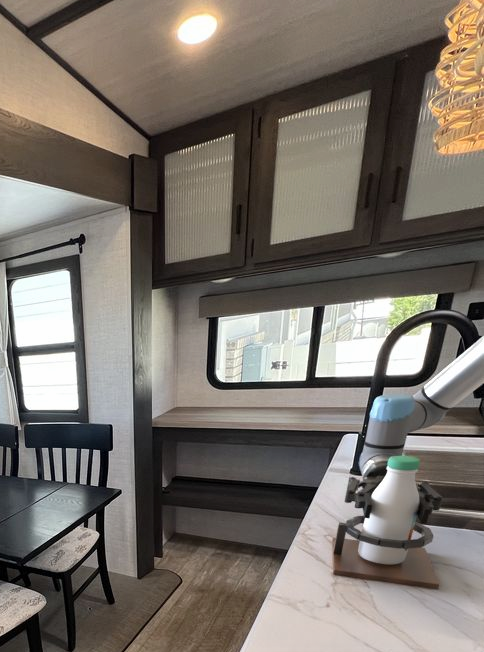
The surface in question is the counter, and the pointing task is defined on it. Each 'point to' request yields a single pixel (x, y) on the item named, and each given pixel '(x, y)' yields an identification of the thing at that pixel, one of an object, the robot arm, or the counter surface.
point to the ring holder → (407, 572)
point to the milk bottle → (392, 511)
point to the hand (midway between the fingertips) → (396, 513)
